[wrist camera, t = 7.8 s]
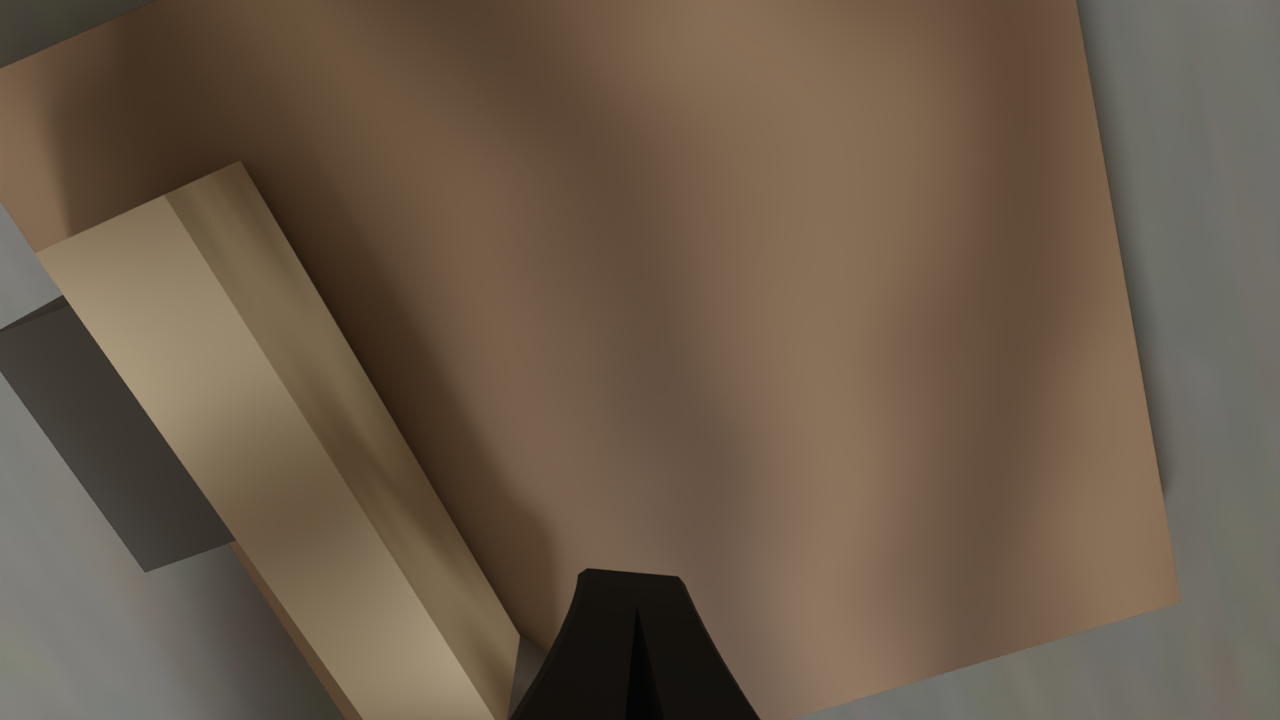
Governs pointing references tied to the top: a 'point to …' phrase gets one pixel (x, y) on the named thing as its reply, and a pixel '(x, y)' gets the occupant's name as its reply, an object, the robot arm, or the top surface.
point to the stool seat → (657, 302)
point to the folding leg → (295, 449)
